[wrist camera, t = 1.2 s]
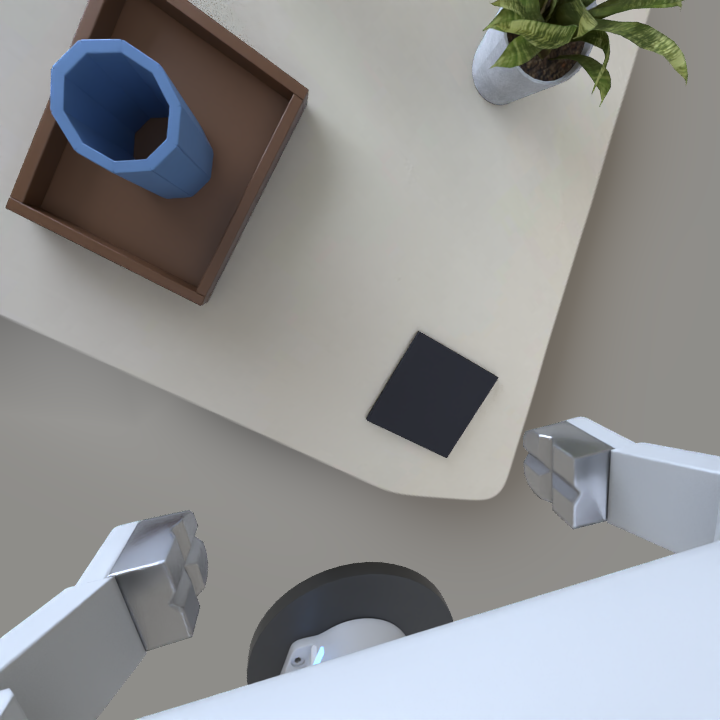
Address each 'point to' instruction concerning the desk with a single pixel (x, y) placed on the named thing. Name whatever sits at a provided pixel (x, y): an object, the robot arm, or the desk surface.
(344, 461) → the desk surface
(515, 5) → the house plant
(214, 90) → the tray
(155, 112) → the blue faceted tube
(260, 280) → the desk surface
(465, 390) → the mat
